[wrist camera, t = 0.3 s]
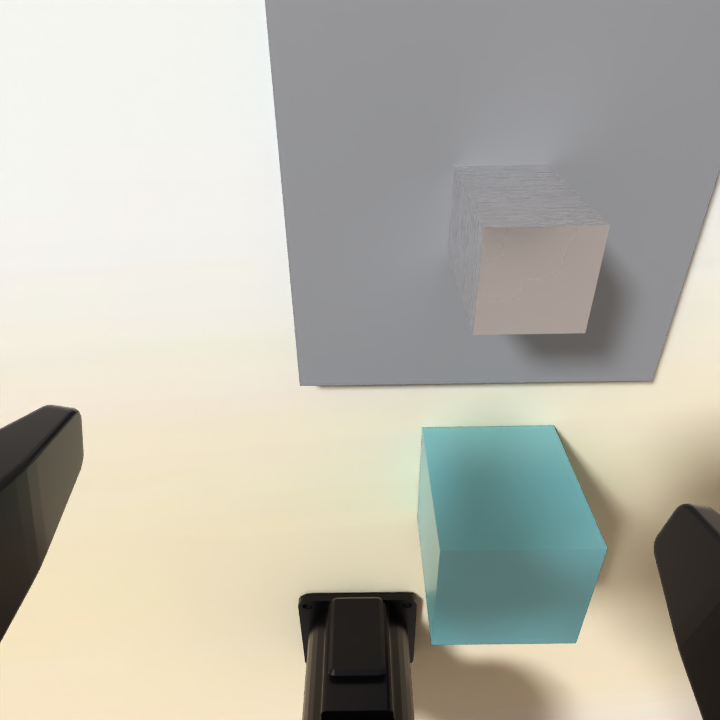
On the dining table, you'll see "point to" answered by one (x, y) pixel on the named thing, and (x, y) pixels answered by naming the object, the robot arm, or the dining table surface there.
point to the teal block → (504, 537)
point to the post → (523, 250)
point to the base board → (486, 148)
